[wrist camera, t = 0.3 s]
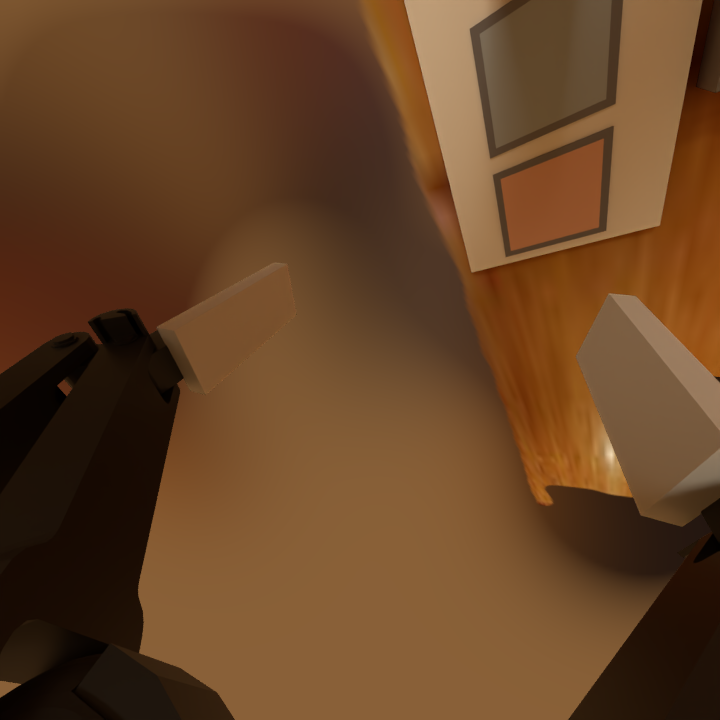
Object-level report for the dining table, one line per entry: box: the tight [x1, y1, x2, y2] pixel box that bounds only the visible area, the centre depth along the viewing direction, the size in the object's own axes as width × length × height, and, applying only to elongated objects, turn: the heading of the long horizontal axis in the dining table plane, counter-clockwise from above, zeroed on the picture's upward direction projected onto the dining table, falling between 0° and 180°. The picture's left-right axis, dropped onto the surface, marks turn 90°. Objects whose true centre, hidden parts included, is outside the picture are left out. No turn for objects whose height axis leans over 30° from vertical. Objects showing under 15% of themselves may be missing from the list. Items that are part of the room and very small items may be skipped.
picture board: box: [404, 0, 702, 272], centre depth 23 cm, size 28×17×1 cm, turn 28°
